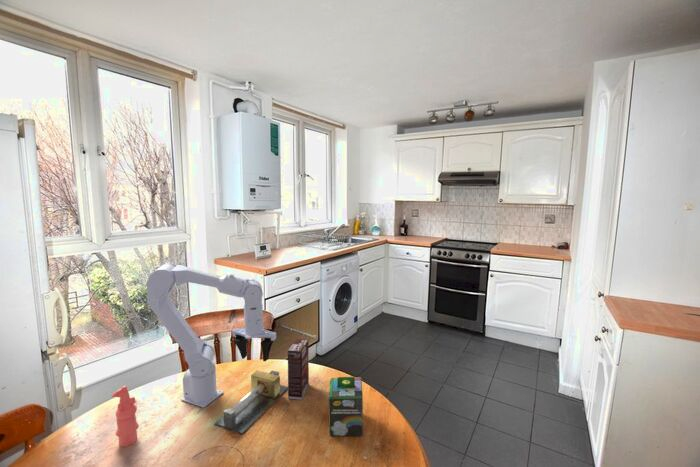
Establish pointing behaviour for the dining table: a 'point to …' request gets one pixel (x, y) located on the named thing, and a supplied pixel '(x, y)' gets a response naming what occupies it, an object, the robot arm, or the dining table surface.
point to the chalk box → (346, 406)
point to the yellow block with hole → (266, 377)
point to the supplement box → (298, 369)
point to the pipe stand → (248, 408)
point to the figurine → (126, 418)
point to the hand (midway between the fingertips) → (255, 358)
